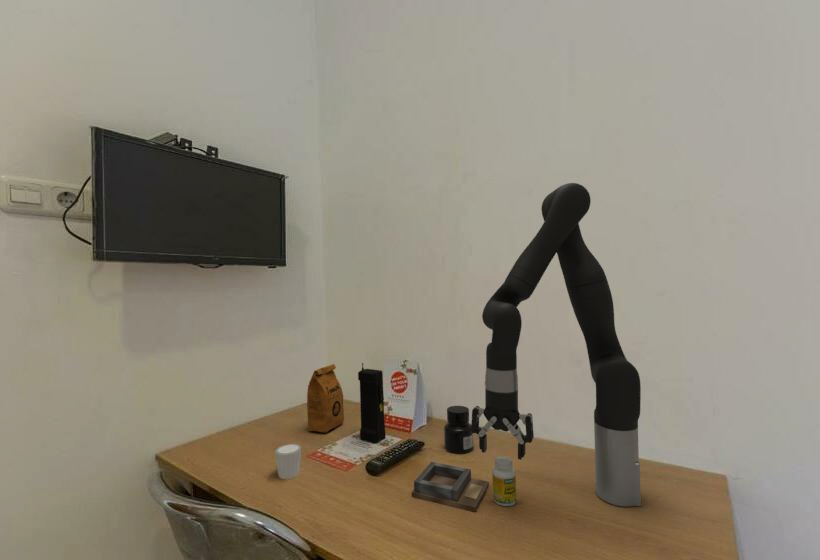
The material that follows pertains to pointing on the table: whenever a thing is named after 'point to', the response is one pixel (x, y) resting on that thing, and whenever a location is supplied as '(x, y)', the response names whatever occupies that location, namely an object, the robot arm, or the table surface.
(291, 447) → the white tapered cylinder
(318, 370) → the coffee package
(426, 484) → the socket stand
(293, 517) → the table surface
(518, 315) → the robot arm
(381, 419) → the portable radio
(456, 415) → the ink bottle
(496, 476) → the supplement bottle
